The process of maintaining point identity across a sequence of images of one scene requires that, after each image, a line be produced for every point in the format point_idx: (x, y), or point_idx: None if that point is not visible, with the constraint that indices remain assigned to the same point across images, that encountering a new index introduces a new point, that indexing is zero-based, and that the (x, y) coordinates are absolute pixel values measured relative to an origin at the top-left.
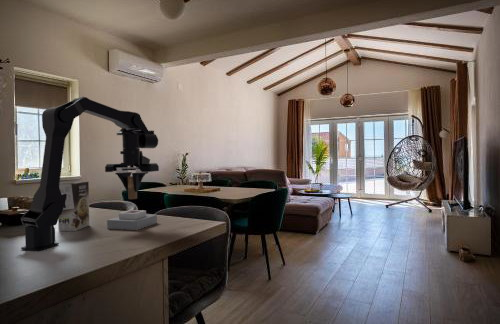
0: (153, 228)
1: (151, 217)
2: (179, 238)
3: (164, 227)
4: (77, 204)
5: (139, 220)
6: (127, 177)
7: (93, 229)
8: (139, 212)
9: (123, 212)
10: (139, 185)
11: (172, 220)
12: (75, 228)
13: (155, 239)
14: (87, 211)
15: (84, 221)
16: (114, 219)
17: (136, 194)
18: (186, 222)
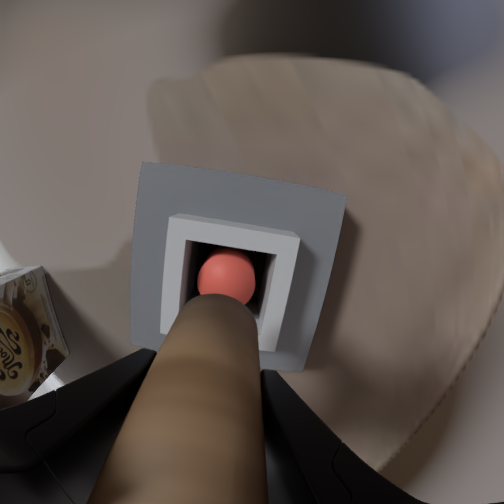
0: (354, 312)
1: (334, 252)
2: (438, 400)
3: (393, 290)
4: (16, 399)
5: (307, 355)
6: (67, 502)
7: (102, 334)
8: (284, 311)
9: (176, 315)
10: (313, 422)
11: (384, 130)
12: (64, 358)
13: (386, 422)
14: (9, 302)
15: (40, 314)
16: (158, 335)
17: (259, 358)
18: (450, 186)
